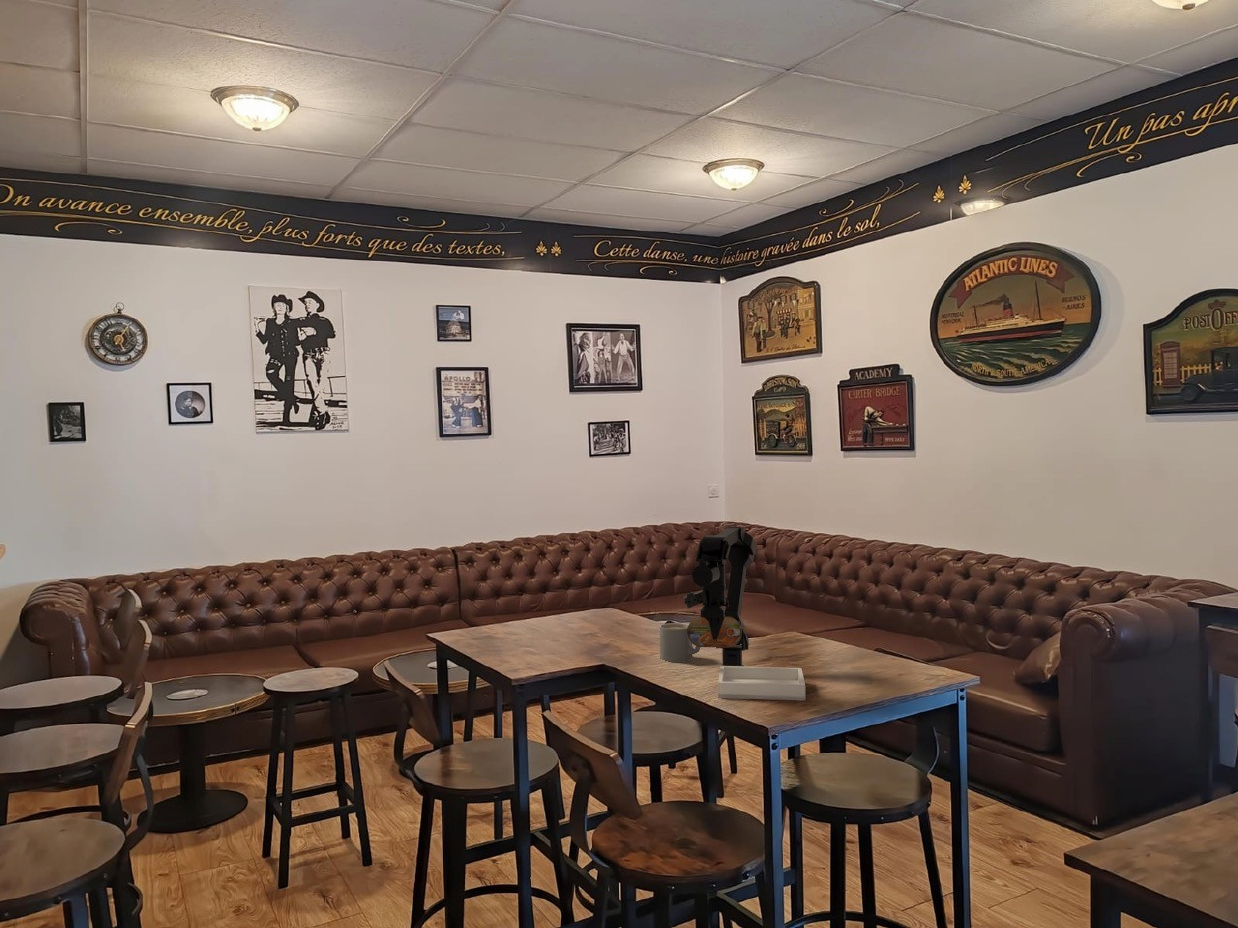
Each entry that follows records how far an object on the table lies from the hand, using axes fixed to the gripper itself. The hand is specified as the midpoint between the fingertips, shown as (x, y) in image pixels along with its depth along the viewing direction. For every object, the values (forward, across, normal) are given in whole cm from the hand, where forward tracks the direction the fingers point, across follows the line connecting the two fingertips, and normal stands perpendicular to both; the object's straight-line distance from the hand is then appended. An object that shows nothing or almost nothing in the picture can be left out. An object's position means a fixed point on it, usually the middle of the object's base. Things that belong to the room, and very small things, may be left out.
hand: (715, 638), depth 248 cm
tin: (+2, 0, 0) cm, 3 cm away
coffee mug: (+12, -25, -13) cm, 31 cm away
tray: (+12, +7, +13) cm, 19 cm away
